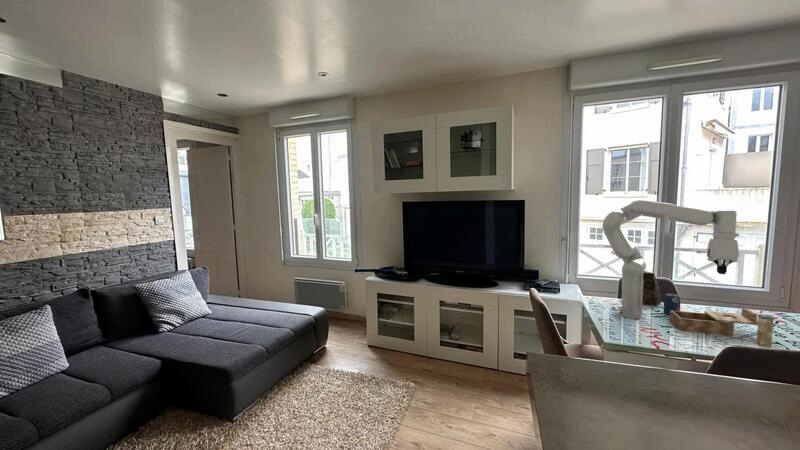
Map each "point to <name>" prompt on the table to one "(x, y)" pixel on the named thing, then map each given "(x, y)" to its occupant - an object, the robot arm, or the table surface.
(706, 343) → the table surface
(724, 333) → the wooden box with slot
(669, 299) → the soda can
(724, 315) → the lid
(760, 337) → the block
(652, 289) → the owl
